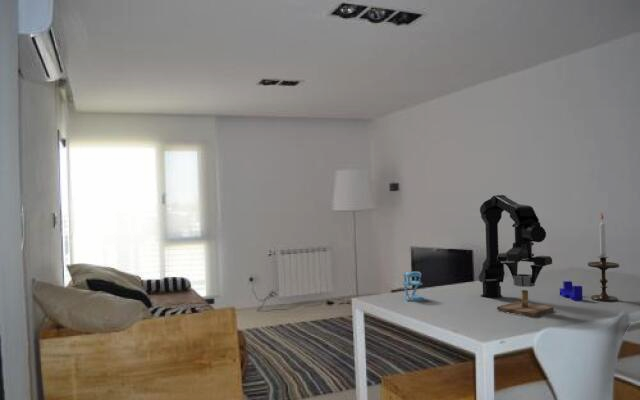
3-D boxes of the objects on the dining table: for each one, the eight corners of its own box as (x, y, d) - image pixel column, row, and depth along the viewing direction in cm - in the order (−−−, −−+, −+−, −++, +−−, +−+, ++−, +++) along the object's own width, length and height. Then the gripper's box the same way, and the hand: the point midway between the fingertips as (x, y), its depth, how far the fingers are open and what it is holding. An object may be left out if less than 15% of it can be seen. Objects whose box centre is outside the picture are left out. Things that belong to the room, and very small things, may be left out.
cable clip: (559, 295, 203) (559, 281, 203) (571, 295, 202) (570, 281, 202) (570, 301, 191) (570, 286, 191) (582, 301, 191) (582, 286, 191)
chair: (418, 296, 208) (417, 268, 208) (425, 300, 199) (424, 271, 199) (400, 297, 206) (400, 269, 206) (407, 301, 198) (406, 272, 198)
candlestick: (590, 295, 200) (588, 212, 200) (620, 298, 193) (618, 211, 193) (587, 300, 191) (584, 213, 191) (619, 303, 185) (616, 212, 185)
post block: (497, 310, 178) (496, 290, 178) (517, 305, 186) (517, 285, 186) (533, 317, 167) (532, 296, 167) (553, 311, 175) (552, 290, 175)
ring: (510, 285, 177) (510, 275, 177) (520, 282, 181) (520, 273, 181) (528, 287, 172) (527, 277, 172) (537, 284, 176) (537, 275, 176)
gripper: (488, 240, 179) (489, 281, 179) (536, 243, 164) (537, 288, 164) (504, 238, 186) (505, 278, 186) (552, 240, 171) (553, 284, 171)
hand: (524, 282), depth 177 cm, fingers closed on ring, 7 cm apart
